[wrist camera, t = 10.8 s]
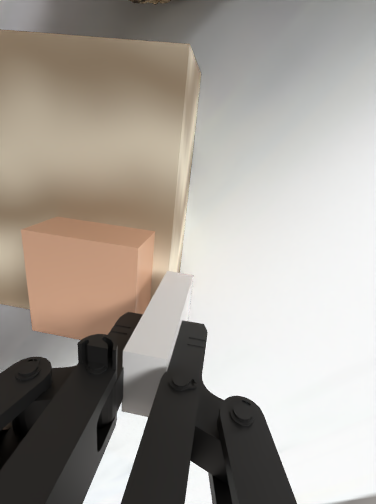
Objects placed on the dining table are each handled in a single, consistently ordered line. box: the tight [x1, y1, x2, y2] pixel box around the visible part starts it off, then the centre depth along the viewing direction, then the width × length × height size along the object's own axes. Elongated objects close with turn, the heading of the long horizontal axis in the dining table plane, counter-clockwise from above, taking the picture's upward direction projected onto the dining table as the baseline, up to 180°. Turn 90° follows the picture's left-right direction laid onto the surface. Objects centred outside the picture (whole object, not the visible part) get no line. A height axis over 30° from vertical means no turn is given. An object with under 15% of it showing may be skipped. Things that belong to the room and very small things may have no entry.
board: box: [0, 29, 201, 309], centre depth 18 cm, size 16×12×5 cm
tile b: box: [21, 217, 155, 340], centre depth 16 cm, size 6×6×3 cm
